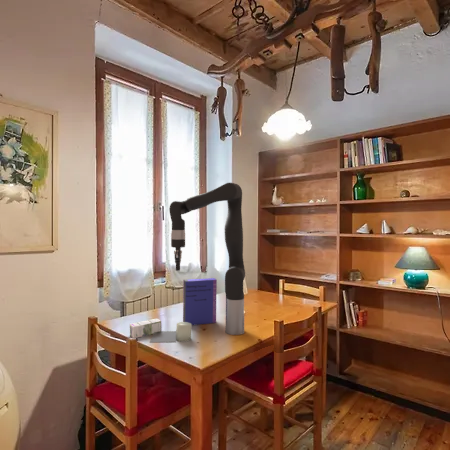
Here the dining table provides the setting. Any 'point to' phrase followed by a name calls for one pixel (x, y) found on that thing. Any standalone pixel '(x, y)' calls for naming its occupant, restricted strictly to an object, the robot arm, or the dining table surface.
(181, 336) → the pillar candle
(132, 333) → the syrup box
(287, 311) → the dining table surface
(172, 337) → the felt mat
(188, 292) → the purple book
